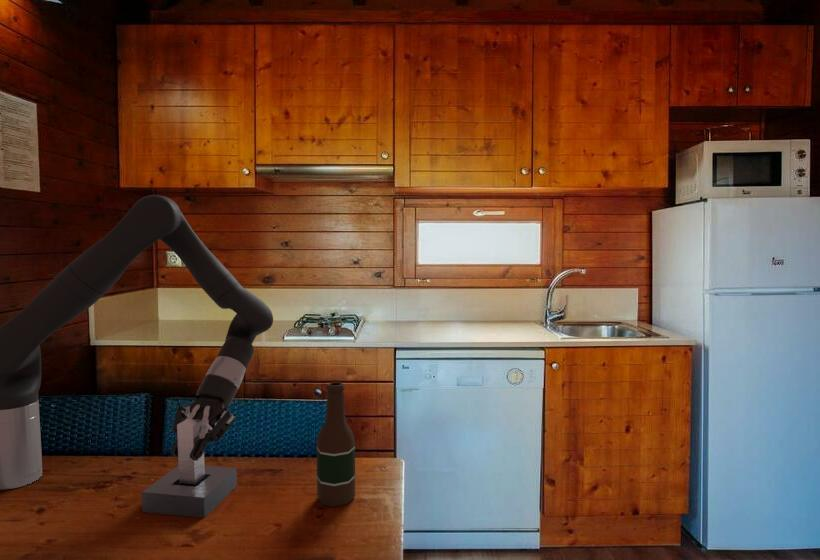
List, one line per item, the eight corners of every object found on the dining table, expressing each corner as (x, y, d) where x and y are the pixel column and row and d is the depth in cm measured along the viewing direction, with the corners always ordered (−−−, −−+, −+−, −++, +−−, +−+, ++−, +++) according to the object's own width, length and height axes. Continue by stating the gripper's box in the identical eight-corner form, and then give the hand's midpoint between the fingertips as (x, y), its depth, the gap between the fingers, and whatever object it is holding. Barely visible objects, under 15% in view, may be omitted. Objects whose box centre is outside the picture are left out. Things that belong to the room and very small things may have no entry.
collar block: (142, 511, 104) (141, 492, 104) (181, 481, 117) (180, 463, 117) (204, 517, 102) (203, 497, 102) (236, 486, 115) (236, 468, 115)
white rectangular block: (179, 482, 108) (176, 424, 107) (189, 474, 111) (187, 418, 110) (195, 484, 107) (192, 425, 106) (204, 476, 111) (202, 419, 110)
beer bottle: (309, 498, 110) (307, 383, 108) (338, 485, 115) (338, 376, 113) (333, 512, 105) (332, 391, 102) (363, 497, 110) (362, 383, 108)
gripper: (186, 370, 117) (144, 445, 107) (241, 375, 112) (203, 454, 102) (204, 387, 122) (166, 460, 112) (257, 393, 118) (222, 469, 107)
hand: (184, 457), depth 107 cm, fingers closed on white rectangular block, 4 cm apart
